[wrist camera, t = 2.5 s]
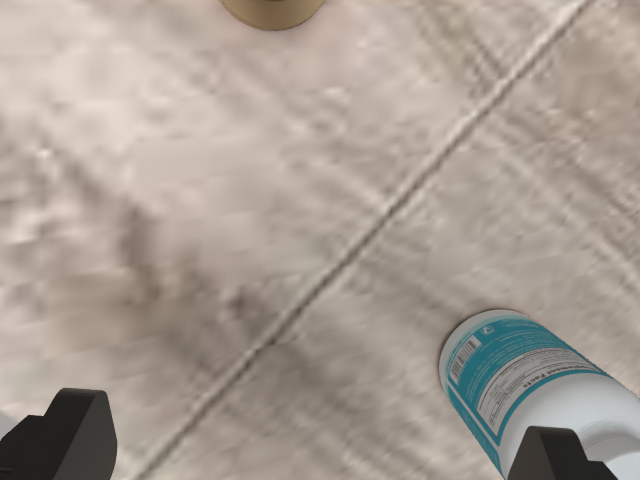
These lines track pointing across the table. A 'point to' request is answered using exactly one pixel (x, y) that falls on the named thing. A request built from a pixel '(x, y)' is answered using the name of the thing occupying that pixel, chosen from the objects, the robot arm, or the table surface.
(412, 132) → the table surface
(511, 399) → the pill bottle
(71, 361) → the table surface
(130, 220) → the table surface
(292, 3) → the tan chess pawn
